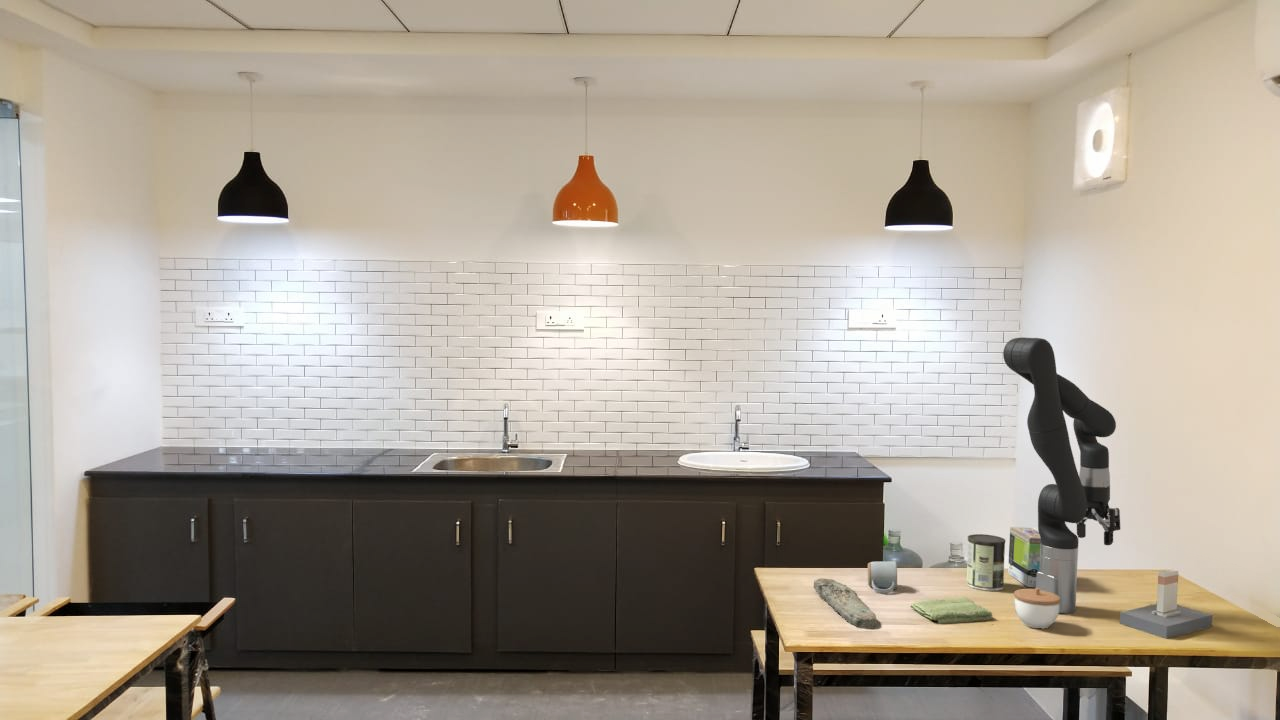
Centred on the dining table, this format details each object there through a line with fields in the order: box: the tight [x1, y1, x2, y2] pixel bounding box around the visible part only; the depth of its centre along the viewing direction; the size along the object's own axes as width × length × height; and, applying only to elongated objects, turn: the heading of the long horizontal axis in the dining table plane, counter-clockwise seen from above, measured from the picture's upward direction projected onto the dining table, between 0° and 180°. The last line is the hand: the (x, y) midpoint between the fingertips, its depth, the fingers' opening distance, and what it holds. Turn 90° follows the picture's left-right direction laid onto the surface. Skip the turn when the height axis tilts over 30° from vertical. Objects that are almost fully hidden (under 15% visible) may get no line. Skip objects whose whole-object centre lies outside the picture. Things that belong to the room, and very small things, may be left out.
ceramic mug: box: [867, 560, 898, 595], centre depth 262 cm, size 11×8×8 cm
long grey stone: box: [813, 577, 878, 629], centre depth 245 cm, size 35×5×10 cm
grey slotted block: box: [1119, 603, 1213, 639], centre depth 235 cm, size 20×12×4 cm, turn 120°
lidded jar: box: [1013, 587, 1060, 630], centre depth 233 cm, size 11×11×9 cm
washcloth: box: [910, 596, 993, 625], centre depth 240 cm, size 13×18×3 cm
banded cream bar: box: [1156, 568, 1179, 617], centre depth 235 cm, size 6×2×13 cm, turn 119°
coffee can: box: [965, 533, 1006, 592], centre depth 266 cm, size 10×10×14 cm
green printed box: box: [1007, 526, 1041, 588], centre depth 273 cm, size 15×10×15 cm, turn 179°
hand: (1094, 541), depth 252 cm, fingers open, 8 cm apart
